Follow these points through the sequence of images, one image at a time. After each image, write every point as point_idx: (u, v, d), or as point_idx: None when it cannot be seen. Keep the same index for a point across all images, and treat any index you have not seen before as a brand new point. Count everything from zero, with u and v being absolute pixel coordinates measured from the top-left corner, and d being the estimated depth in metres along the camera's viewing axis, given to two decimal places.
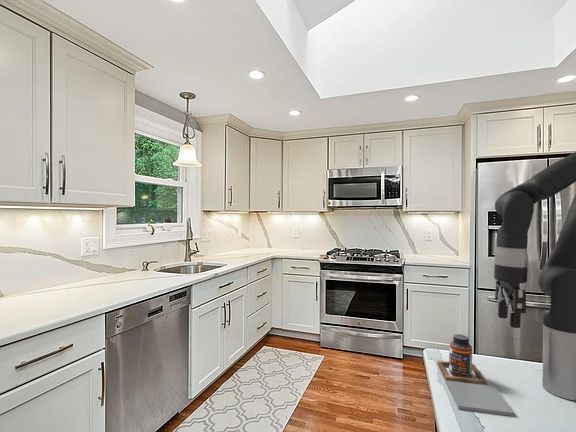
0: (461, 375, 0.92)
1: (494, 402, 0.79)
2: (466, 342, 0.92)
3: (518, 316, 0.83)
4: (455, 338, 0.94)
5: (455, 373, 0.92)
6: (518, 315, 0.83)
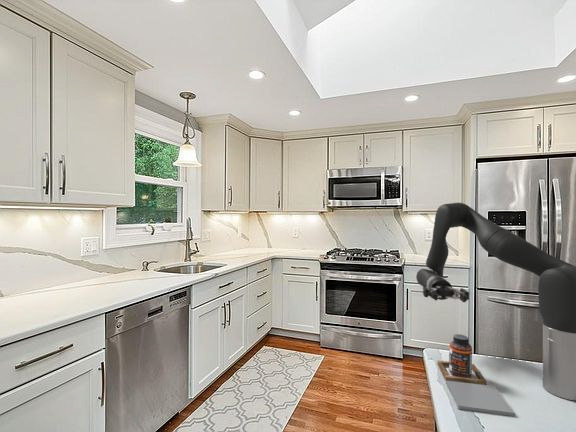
0: (461, 375, 0.92)
1: (494, 402, 0.79)
2: (466, 342, 0.92)
3: (431, 293, 1.09)
4: (455, 338, 0.94)
5: (455, 373, 0.92)
6: (430, 293, 1.10)
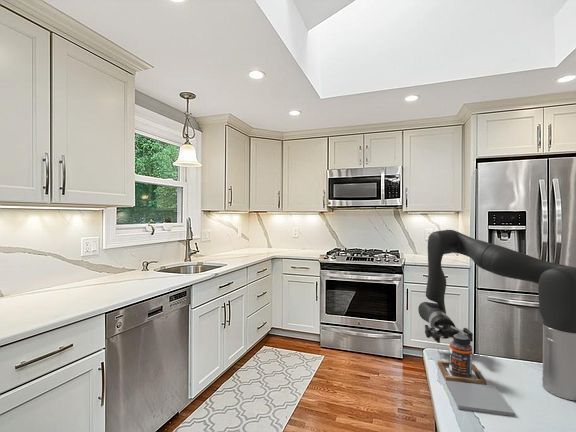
0: (461, 375, 0.92)
1: (494, 402, 0.79)
2: (466, 342, 0.92)
3: (433, 334, 1.06)
4: (455, 338, 0.94)
5: (455, 373, 0.92)
6: (433, 334, 1.07)
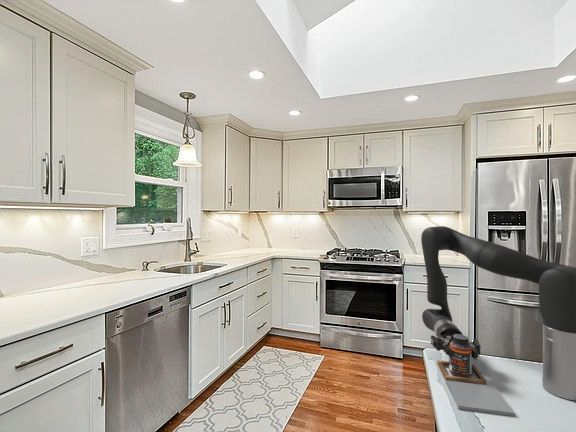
0: (461, 375, 0.92)
1: (494, 402, 0.79)
2: (466, 342, 0.92)
3: (444, 347, 0.96)
4: (455, 338, 0.94)
5: (455, 373, 0.92)
6: (444, 347, 0.96)
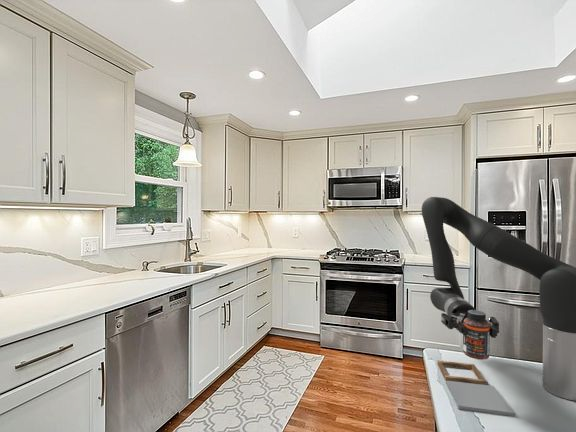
0: (477, 356, 0.80)
1: (494, 402, 0.79)
2: (483, 318, 0.80)
3: (457, 325, 0.84)
4: (470, 314, 0.82)
5: (470, 354, 0.81)
6: (457, 325, 0.84)
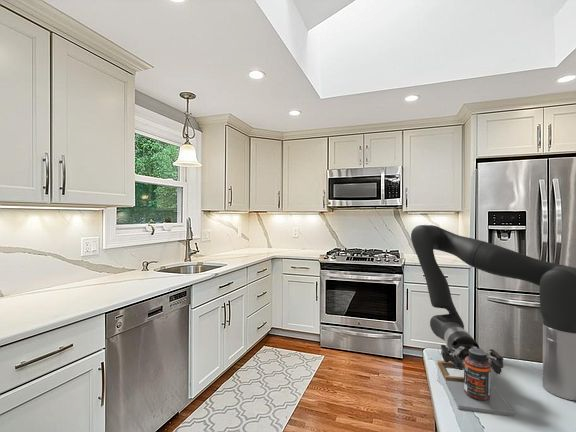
0: (478, 396, 0.79)
1: (494, 402, 0.79)
2: (484, 358, 0.80)
3: (453, 359, 0.84)
4: (471, 353, 0.81)
5: (471, 394, 0.80)
6: (452, 358, 0.85)
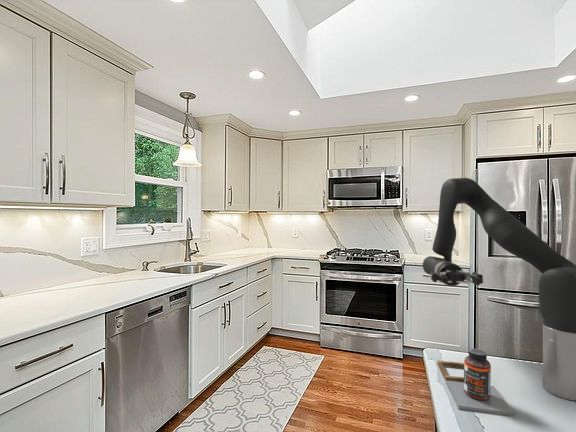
0: (478, 396, 0.79)
1: (494, 402, 0.79)
2: (484, 358, 0.80)
3: (440, 277, 0.99)
4: (471, 353, 0.81)
5: (471, 394, 0.80)
6: (440, 277, 0.99)
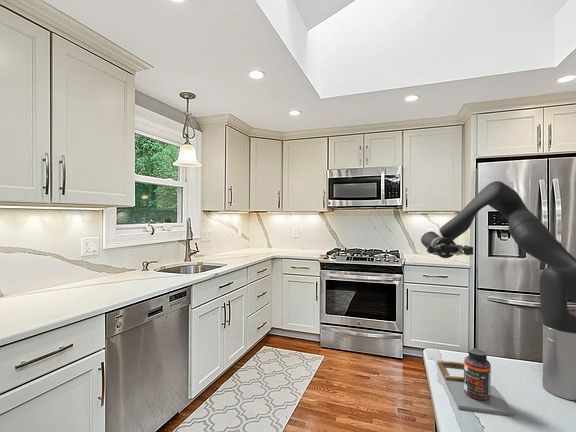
0: (478, 396, 0.79)
1: (494, 402, 0.79)
2: (484, 358, 0.80)
3: (435, 249, 1.10)
4: (471, 353, 0.81)
5: (471, 394, 0.80)
6: (435, 249, 1.11)
